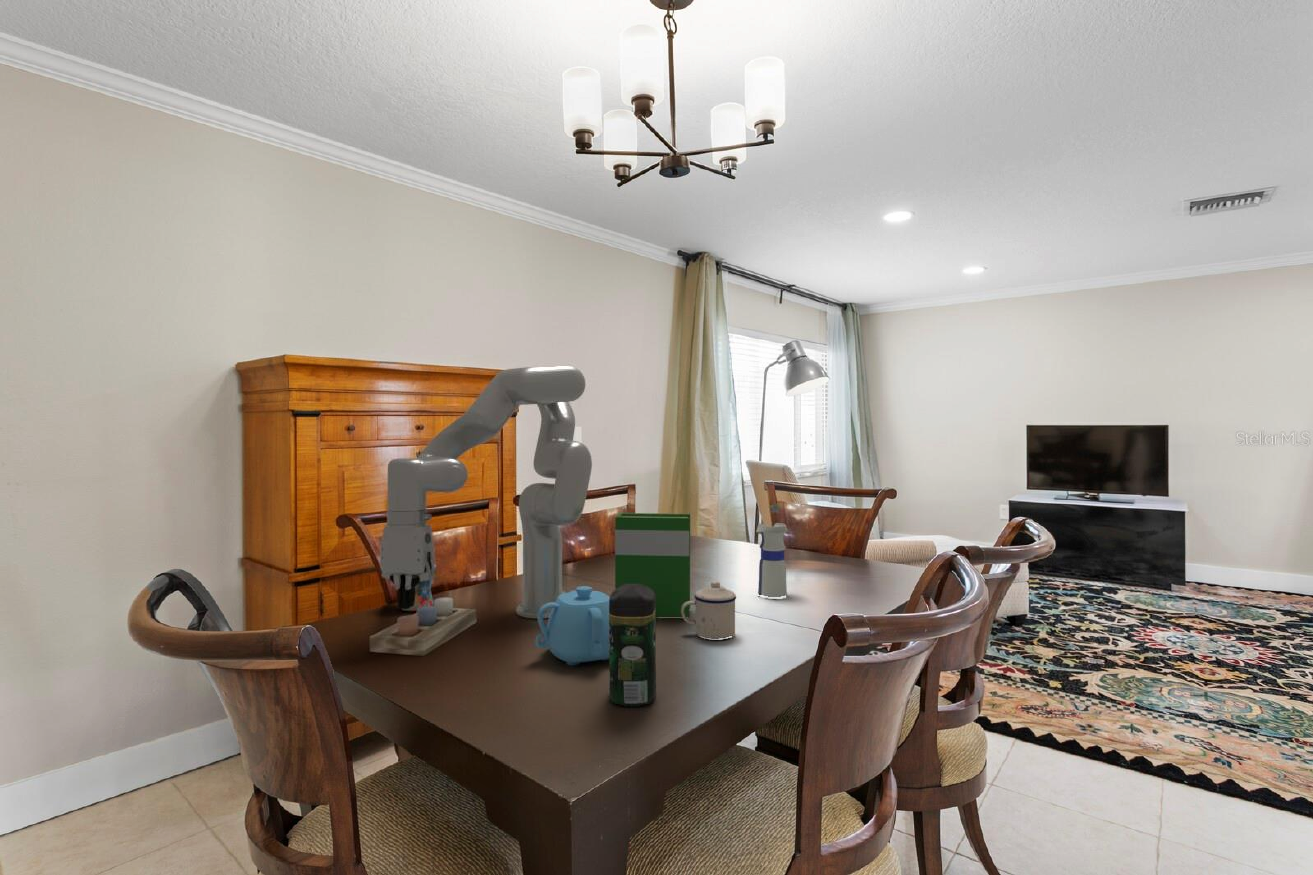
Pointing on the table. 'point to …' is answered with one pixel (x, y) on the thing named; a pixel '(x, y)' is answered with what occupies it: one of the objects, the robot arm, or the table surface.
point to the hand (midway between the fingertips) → (406, 607)
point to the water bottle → (772, 559)
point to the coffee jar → (632, 645)
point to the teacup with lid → (713, 612)
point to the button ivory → (444, 606)
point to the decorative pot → (577, 626)
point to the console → (423, 634)
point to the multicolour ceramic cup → (423, 593)
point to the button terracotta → (408, 626)
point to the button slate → (426, 616)
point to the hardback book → (655, 557)
